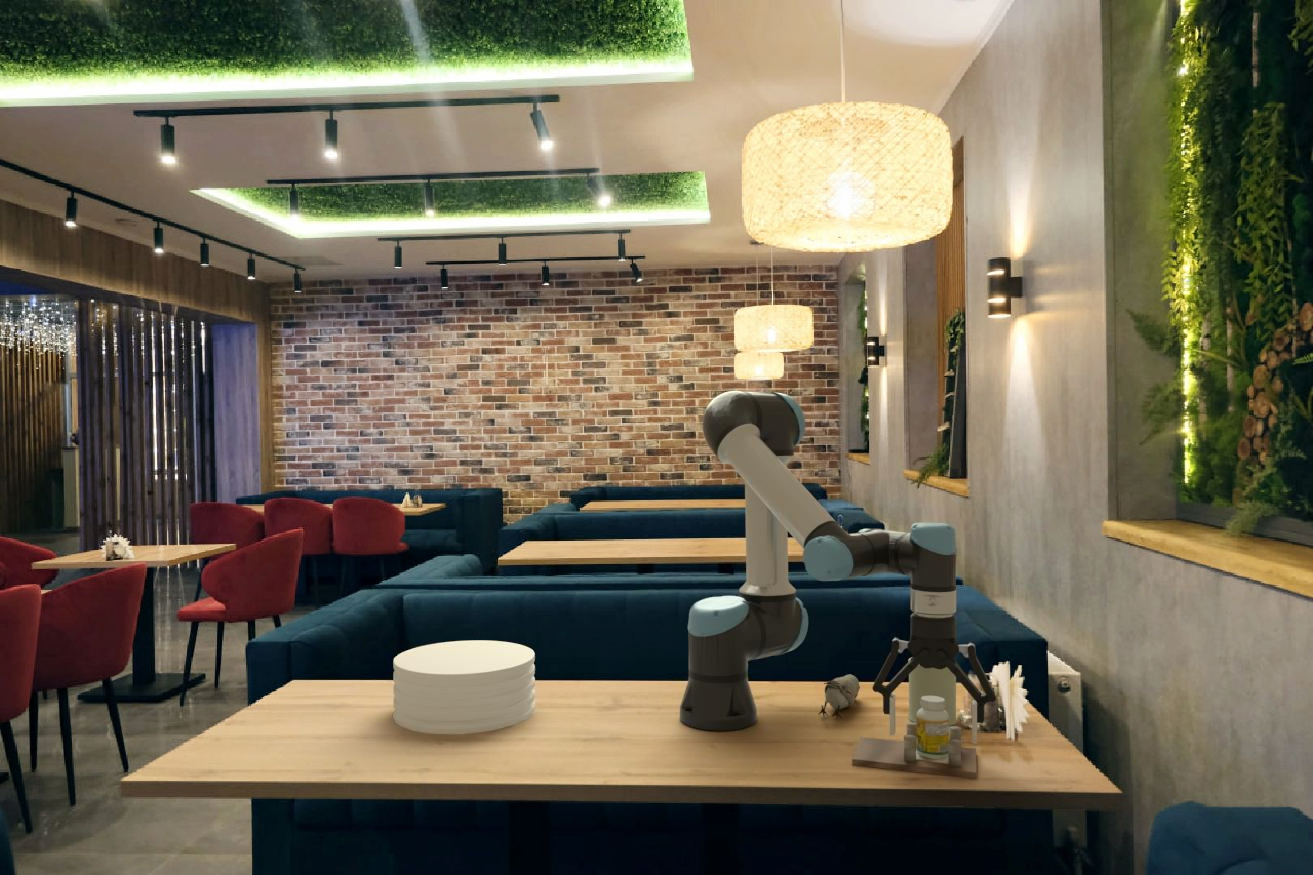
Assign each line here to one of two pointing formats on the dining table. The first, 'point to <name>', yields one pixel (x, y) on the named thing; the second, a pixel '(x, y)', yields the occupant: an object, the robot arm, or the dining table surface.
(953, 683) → the can
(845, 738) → the dining table surface
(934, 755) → the supplement bottle
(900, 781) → the dining table surface
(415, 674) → the plate stack
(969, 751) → the pin nest
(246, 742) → the dining table surface
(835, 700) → the decorative bird
